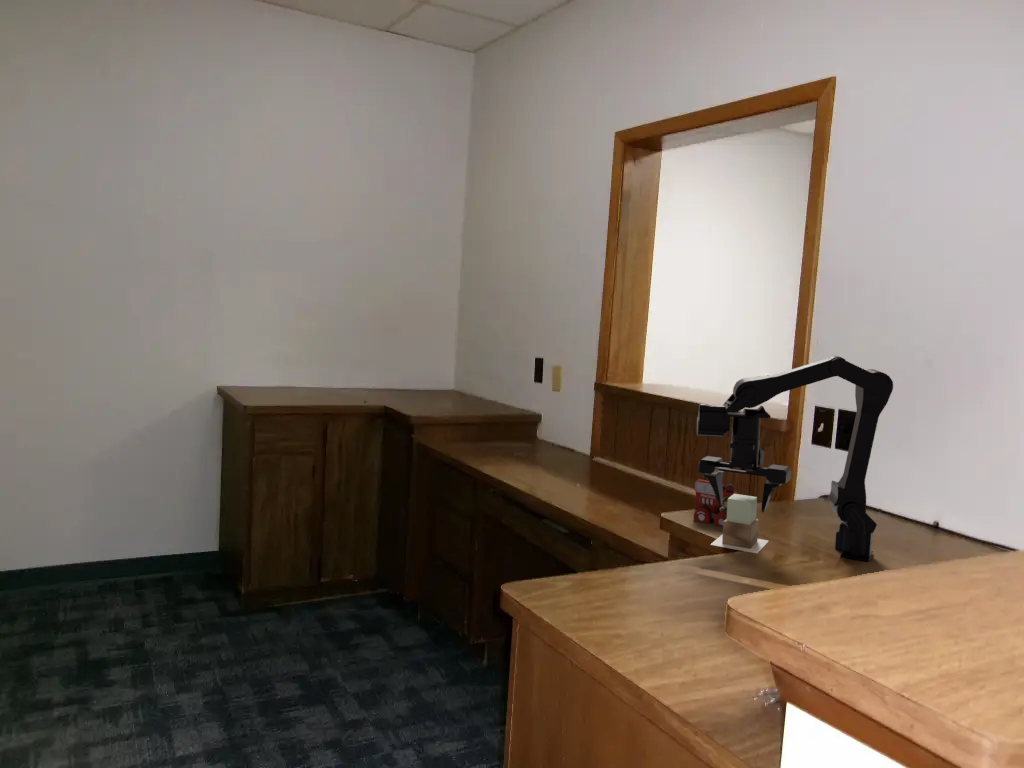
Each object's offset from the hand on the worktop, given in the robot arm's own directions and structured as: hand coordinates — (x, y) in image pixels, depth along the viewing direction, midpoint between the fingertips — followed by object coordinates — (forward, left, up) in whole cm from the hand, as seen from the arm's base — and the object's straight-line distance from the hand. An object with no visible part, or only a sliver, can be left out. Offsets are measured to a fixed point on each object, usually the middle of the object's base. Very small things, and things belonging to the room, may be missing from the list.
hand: (741, 508), depth 173 cm
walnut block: (0, 0, -8) cm, 8 cm away
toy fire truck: (+9, -14, -9) cm, 19 cm away
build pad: (0, 0, -9) cm, 9 cm away
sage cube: (0, 0, -3) cm, 3 cm away
